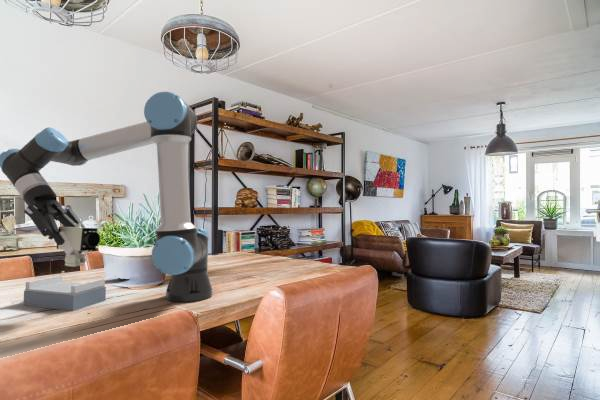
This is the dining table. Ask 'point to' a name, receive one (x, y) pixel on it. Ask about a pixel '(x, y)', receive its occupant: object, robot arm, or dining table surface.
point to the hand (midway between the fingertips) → (79, 250)
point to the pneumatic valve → (79, 243)
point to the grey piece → (63, 293)
